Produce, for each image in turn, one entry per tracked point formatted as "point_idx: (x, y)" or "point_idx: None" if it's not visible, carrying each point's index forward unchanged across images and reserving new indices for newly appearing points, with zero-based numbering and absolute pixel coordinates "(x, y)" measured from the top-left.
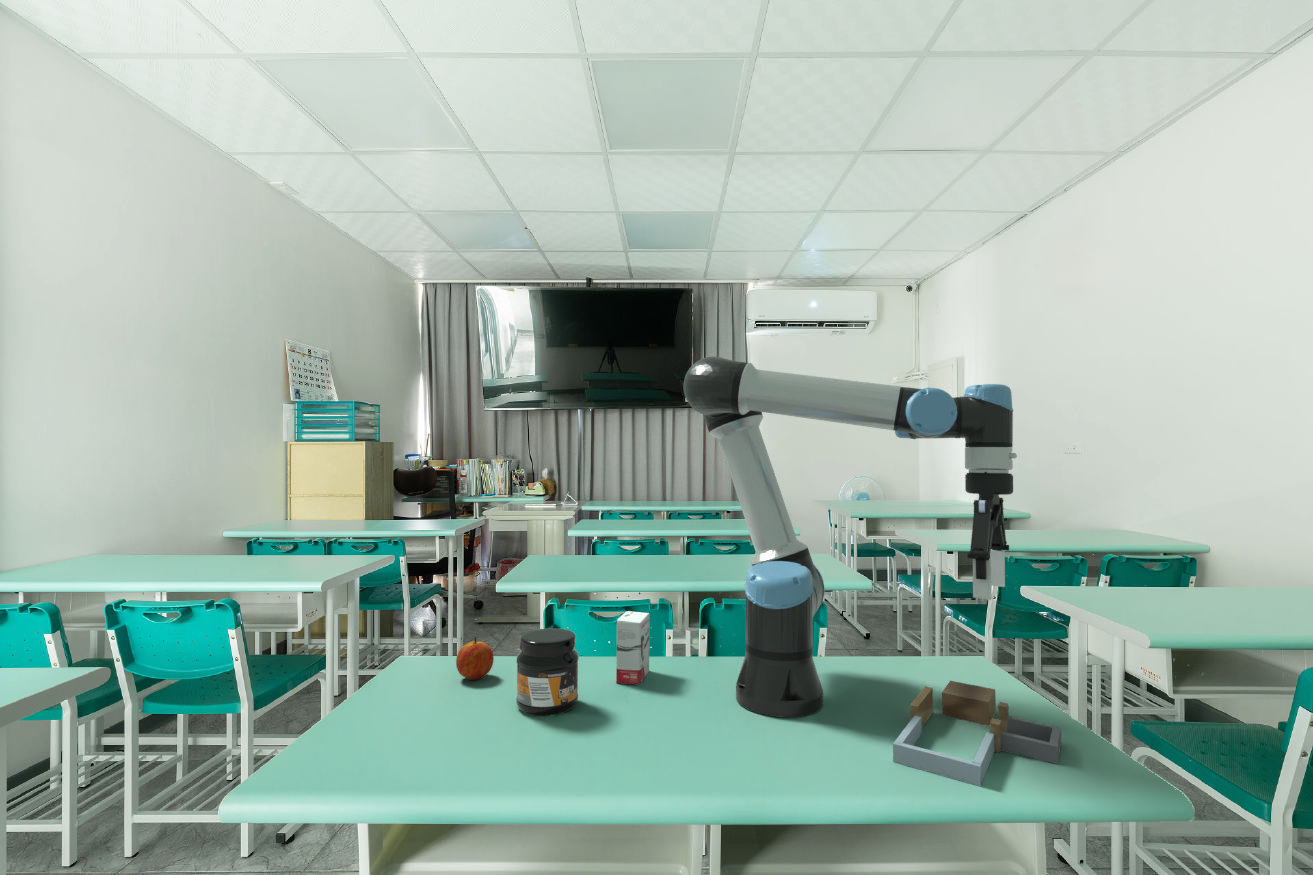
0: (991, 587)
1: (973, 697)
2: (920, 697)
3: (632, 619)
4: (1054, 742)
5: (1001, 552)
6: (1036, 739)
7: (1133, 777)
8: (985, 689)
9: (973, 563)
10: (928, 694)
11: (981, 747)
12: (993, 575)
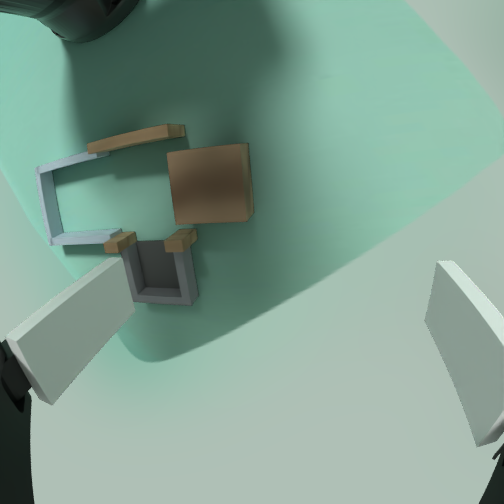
0: (112, 333)
1: (179, 200)
2: (116, 141)
3: None
4: (140, 299)
5: (482, 432)
6: (134, 283)
7: (168, 346)
8: (233, 207)
9: (21, 326)
10: (141, 141)
11: (76, 238)
12: (449, 308)
